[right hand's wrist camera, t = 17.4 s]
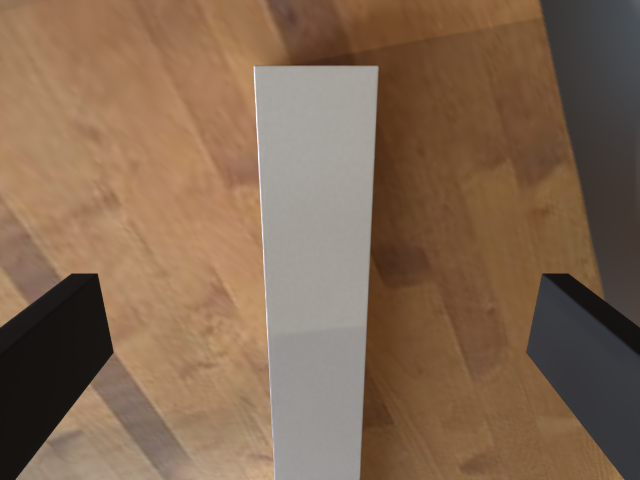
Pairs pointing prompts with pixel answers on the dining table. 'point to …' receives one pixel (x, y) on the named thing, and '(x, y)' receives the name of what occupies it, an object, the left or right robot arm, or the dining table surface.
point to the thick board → (316, 259)
